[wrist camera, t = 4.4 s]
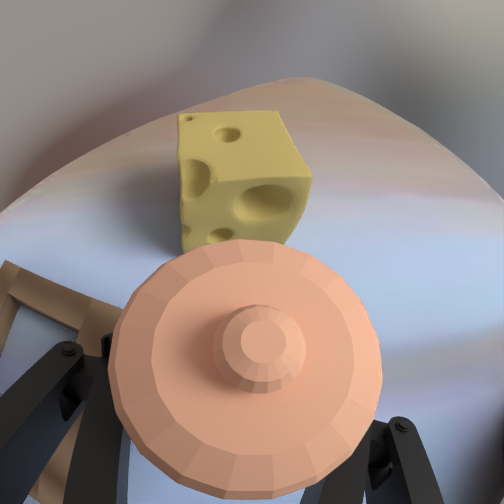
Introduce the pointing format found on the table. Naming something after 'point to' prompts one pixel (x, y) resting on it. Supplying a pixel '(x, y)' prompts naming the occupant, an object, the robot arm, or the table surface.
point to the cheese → (239, 178)
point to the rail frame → (89, 337)
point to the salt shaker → (245, 369)
